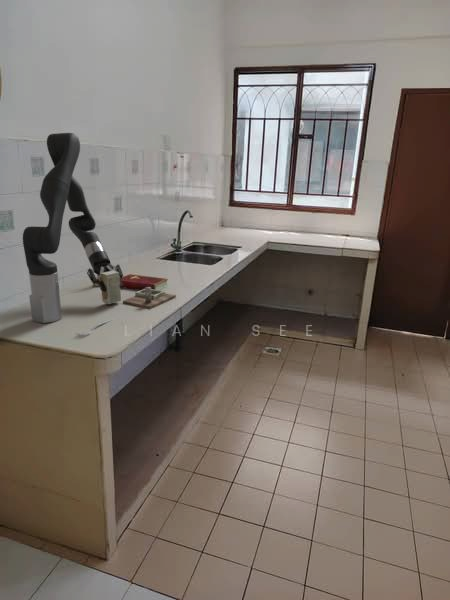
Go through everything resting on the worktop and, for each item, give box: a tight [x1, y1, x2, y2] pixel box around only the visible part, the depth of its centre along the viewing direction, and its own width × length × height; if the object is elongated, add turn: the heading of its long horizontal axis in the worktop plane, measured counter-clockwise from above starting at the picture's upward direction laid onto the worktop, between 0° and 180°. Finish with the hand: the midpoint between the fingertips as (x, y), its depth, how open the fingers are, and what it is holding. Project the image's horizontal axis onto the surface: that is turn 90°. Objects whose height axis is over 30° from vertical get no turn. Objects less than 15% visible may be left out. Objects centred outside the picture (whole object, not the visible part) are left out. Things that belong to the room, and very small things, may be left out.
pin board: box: [122, 287, 177, 309], centre depth 177 cm, size 18×14×7 cm
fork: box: [74, 317, 116, 336], centre depth 148 cm, size 3×24×2 cm, turn 162°
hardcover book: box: [121, 273, 169, 291], centre depth 198 cm, size 12×21×4 cm, turn 68°
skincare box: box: [100, 270, 122, 305], centre depth 170 cm, size 6×4×12 cm
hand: (112, 289), depth 169 cm, fingers closed on skincare box, 6 cm apart
